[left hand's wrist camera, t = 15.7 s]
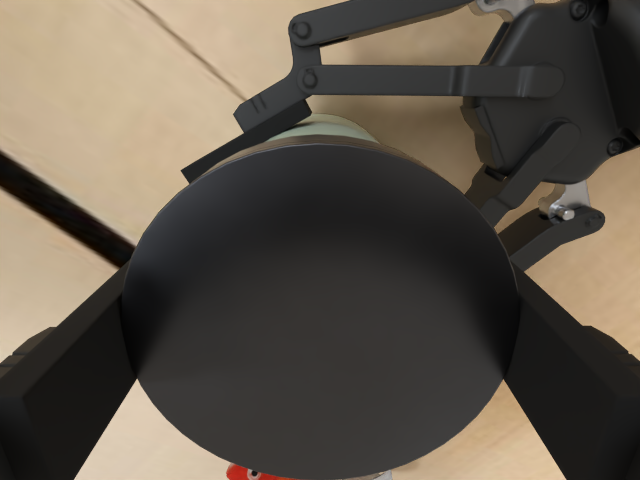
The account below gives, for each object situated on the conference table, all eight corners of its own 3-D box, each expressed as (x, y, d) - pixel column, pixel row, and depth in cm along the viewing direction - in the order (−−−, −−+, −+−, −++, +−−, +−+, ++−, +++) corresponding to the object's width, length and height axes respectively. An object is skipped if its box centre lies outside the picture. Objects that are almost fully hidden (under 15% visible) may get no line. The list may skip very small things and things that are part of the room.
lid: (198, 450, 14) (182, 496, 13) (95, 164, 10) (55, 179, 9) (490, 419, 14) (512, 462, 12) (497, 104, 10) (531, 108, 8)
